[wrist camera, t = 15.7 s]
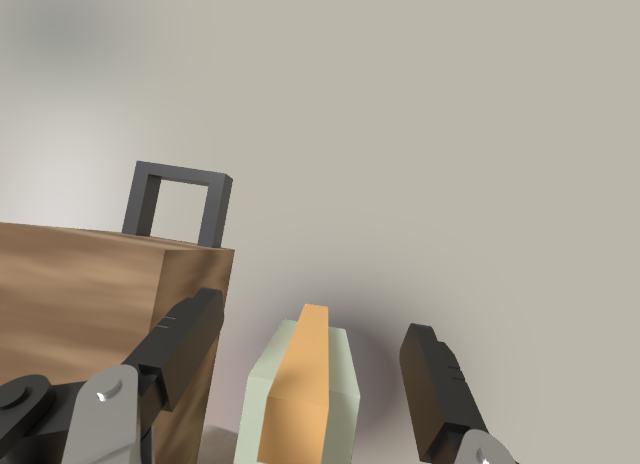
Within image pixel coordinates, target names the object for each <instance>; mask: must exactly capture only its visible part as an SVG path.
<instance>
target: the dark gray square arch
mask: <svg viewBox="0 0 640 464" xmlns="http://www.w3.org/2000/svg"><path fill="white" fill-rule="evenodd" d="M161 179H163V180H169V181H176V182H183V183H190V184H196V185H203V186H209V187H208V192H207V197H206V203H205V208H204V214H203V218H202V223H201V229H200V234H199V240H198V244H197V246H203V247H209V248H220V247H221V241H222V236H223V230H224V225H225V220H226V214H227V209H228V203H229V198H230V193H231V187H232V182H233V179H232V178H231V177H229V176H228V175H227V174H224V173H217V172H211V171H203V170H197V169H190V168H184V167H177V166H170V165H163V164H157V163H150V162H143V161H137V163H136V167H135V172H134V177H133V181H132V186H131V191H130V195H129V201H128V205H127V210H126V214H125V219H124V224H123V228H122V234H128V235H134V236H147V237H150V232H151V227H152V222H153V217H154V213H155V208H156V203H157V198H158V193H159V188H160V183H161Z"/></svg>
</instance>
